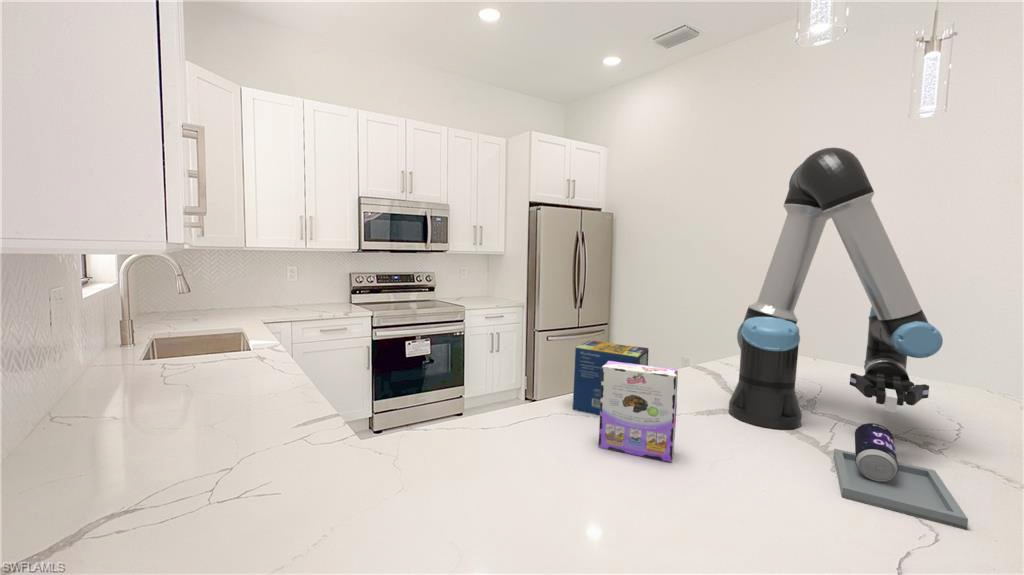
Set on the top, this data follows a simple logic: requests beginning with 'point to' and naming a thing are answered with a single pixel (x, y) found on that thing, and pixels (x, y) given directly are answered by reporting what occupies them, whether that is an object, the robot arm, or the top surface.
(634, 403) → the candy box
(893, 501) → the tray
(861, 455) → the beverage can
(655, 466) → the top surface
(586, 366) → the protein box
